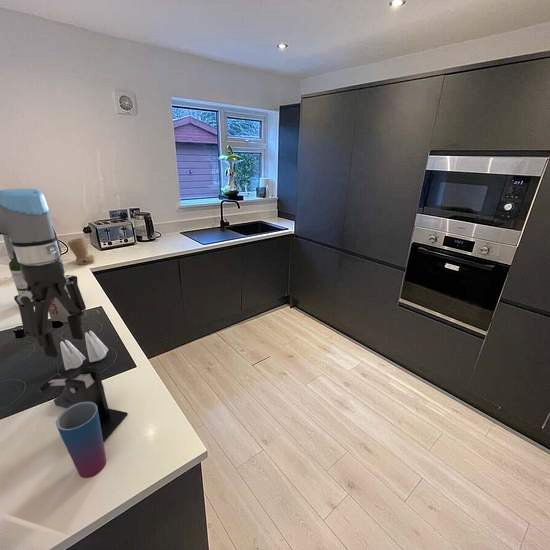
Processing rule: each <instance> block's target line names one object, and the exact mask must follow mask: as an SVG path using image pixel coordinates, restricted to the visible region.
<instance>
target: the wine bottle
mask: <svg viewBox="0 0 550 550" xmlns="http://www.w3.org/2000/svg"><path fill="white" fill-rule="evenodd" d="M8 241H9V245H10V247H11V251H12V255H13V258H12V259H11V260H10V261H9V263H8V267H9V271H10V273H11V276H12V280H13V282H14V285H15V288H16V292H17V295H19V296H21V295H22V294H24V293H25V292H27V283H26V281H25V280H24V278H23V275H22V272H21V269H20V265H21V263H19V262H18V260H17V257H16V254H15V250H14V247H13V244H12V241H11V238H10V237H9V238H8ZM32 299H33V302H32V304H33V306H34V307H35V305H34V297H33V296H32ZM42 302H44V301H42Z"/></svg>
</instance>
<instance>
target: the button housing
mask: <svg viewBox="0 0 550 550" xmlns="http://www.w3.org/2000/svg"><path fill="white" fill-rule="evenodd" d="M102 385H103V383H102ZM103 386H104V385H103ZM103 389H104V390H105V387H103ZM53 403H54V405H55V407H60V408H65V409H67V408H69V407H70V406H72V404H71V400H70V397H69V394H68V391H67V388H66V385H64V387H63V390H62V393H60V394H58V396H57V397H56V398H54V399H53Z"/></svg>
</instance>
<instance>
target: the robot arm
mask: <svg viewBox="0 0 550 550" xmlns="http://www.w3.org/2000/svg"><path fill="white" fill-rule="evenodd" d="M0 235H1V236H9V238H11V241H12V244H13V247H14V250H15V254H16V257H17V260H18V262H19V263H21V265H20V269H21V272H22V275H23V278H24V280H25V281H26V283H27V292H25V293H24V294H22V295H21V296H19V294H17V295H15V296H14V297H13V300H14V301H15V303H16V304H17V305H18V310H19V315H20V318H21V325H22V328H23V334H24V336H25V337H29V338H36V340H37V344H38V346H39V347H40V348H43V351H44V354H45V356H46V357H50V358H57V357H58V356H59V354H58V350H57V347H56V344H55V341H54V338H53V334H52V332H48V324H49V306H50V305H51V300H53V299H54V298H57V299H58V300H59V302H60V303H61V304H62V305H63V307H64V308H65V309H66V310H67V312H68V313H69V314H70V315H71V316H68V317H67V319H68V322H67V323H68V326H69V329H70V333H71V337H72V339H73V340H79V341H82V340H84V339H85V336H84V334H83V331H82V326H83V321H82V318H81V317H82V316H83V315H84V312H83V311H85V310H87V309H86V308H87V306H86V303H85V301H84V298H83V295H82V293H81V290H80V287H79V283H78V276H76V275H72V274H66V275H65V273H66V271H65V267H64V264H63V260H62V259H61V258H60V257H61V252H60V248H59V245H58V244H59V243H58V241H57V238H56V237H57V236H56V235H55V231H54V226H53V221H52V217H51V211H50V207H49V205H48V204H47V200H46V197H45V195H44V193H43V191H41V190H39V189H37V188H8V189H7V188H6V189H0ZM64 275H65V276H64ZM65 284H66V288H67V290H68V292H67V291H66V290H65V288H64V287H65ZM68 293H69V294H68ZM68 295H70V297H69V296H68ZM32 296H33V297H34V305H35V306H33V304H32V302H33V299H32ZM42 301H44V302H42Z"/></svg>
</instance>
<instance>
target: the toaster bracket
mask: <svg viewBox="0 0 550 550" xmlns="http://www.w3.org/2000/svg"><path fill="white" fill-rule="evenodd" d="M79 372H80V375H81V374H90V375H91V377H92V379H93V381H94V383H92V384H91V385H90V386H89V387H88V388H86V385H85V381H80V380H76V379H75V378H71V377H67V378H65V379H66V380H65V384H66V385H65V386H66V388H67V391H68V394H69V397H70V400H71V404H72V405H75V404H77V403H81V402H93V403H95V404H96V405H97V408H98V414H99V420H100V426H101V432H102V438H103V444H105V442H106V441H107V440H108V439H109V438H110V436H111V435H112V434H113V433H114V431H116V430H117V428H118V427H119V426H120V424H121V423H122V422H123V421H124V420H125V419H126V418H127V416H128V415H129V414H128V412H126V411H122V410H119V409H114V408H109V405H108V401H107V397H106V393H105V388H104V385H102V384H103V381H102V376H101V373H100V369H99V368H98V369H97V368H93V367H87V366H81V367H80V368H79ZM103 388H104V389H103Z"/></svg>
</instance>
